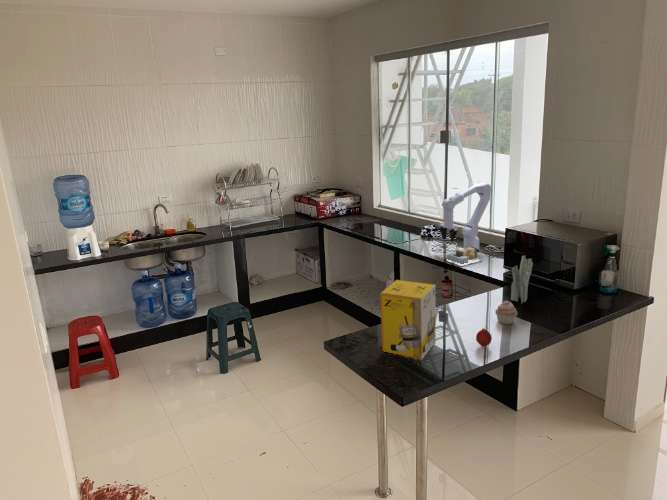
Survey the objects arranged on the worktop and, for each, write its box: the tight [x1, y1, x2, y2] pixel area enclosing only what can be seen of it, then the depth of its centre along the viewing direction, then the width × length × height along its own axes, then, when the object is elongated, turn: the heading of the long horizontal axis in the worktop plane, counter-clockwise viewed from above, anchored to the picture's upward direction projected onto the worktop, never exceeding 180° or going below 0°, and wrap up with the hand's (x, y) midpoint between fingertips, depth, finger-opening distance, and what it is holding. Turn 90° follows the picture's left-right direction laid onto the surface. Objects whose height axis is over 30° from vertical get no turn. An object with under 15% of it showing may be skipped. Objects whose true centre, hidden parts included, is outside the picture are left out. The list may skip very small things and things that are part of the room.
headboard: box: [446, 252, 482, 264], centre depth 299 cm, size 16×14×4 cm
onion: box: [475, 327, 493, 348], centre depth 195 cm, size 6×6×8 cm
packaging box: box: [379, 279, 437, 360], centre depth 195 cm, size 16×16×25 cm
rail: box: [455, 247, 478, 260], centre depth 300 cm, size 13×4×6 cm, turn 118°
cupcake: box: [495, 300, 518, 326], centre depth 214 cm, size 9×9×10 cm
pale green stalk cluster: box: [510, 255, 534, 304], centre depth 236 cm, size 28×7×20 cm, turn 148°
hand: (448, 239), depth 313 cm, fingers open, 7 cm apart
